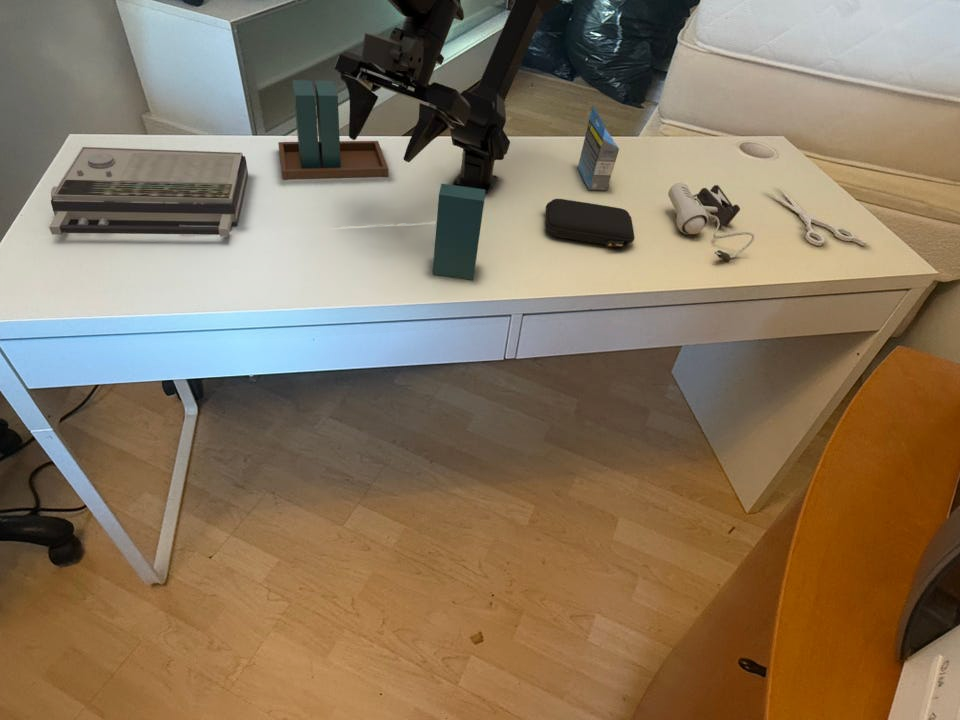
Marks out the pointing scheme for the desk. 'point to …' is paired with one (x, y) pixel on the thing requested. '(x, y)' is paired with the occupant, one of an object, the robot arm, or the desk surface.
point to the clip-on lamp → (704, 212)
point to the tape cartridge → (597, 154)
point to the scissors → (809, 219)
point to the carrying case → (589, 222)
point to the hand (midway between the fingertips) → (378, 149)
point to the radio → (149, 192)
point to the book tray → (354, 158)
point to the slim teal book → (457, 231)
